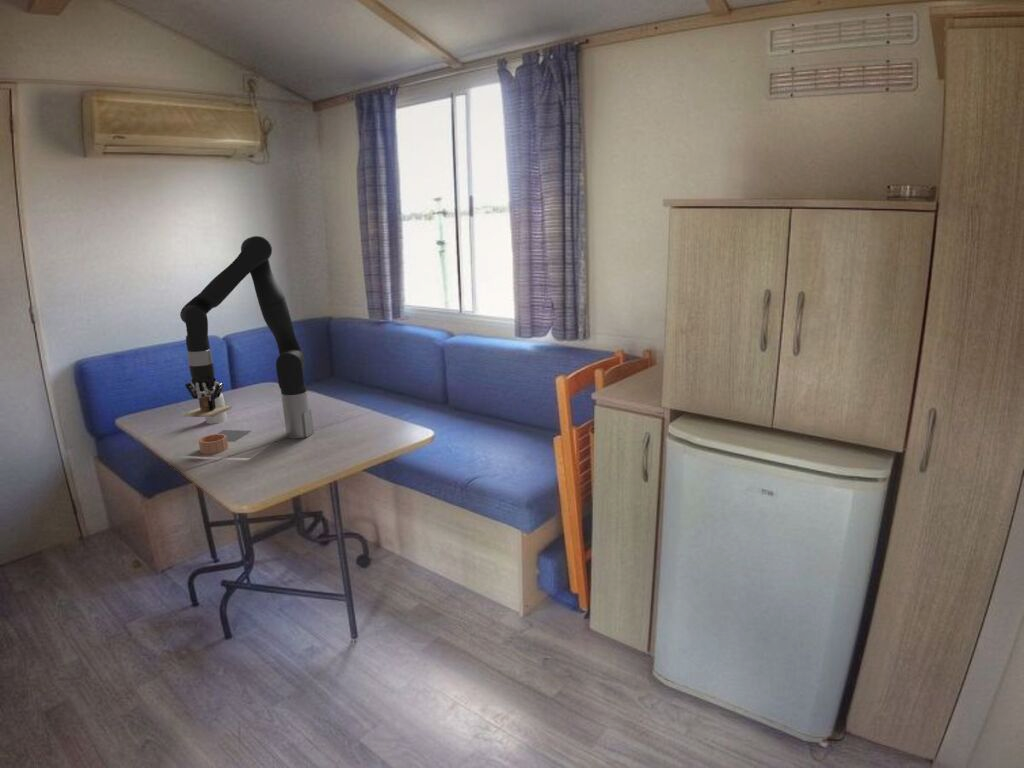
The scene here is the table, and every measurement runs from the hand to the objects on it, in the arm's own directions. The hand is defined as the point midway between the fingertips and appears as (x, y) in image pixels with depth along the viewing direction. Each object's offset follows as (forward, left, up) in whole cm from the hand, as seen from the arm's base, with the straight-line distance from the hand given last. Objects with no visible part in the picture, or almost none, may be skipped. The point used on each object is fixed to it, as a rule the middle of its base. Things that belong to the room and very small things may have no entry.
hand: (208, 409), depth 218 cm
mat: (+3, -14, -16) cm, 21 cm away
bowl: (0, 0, -16) cm, 16 cm away
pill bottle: (+19, -31, -16) cm, 40 cm away
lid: (0, 0, -1) cm, 1 cm away
